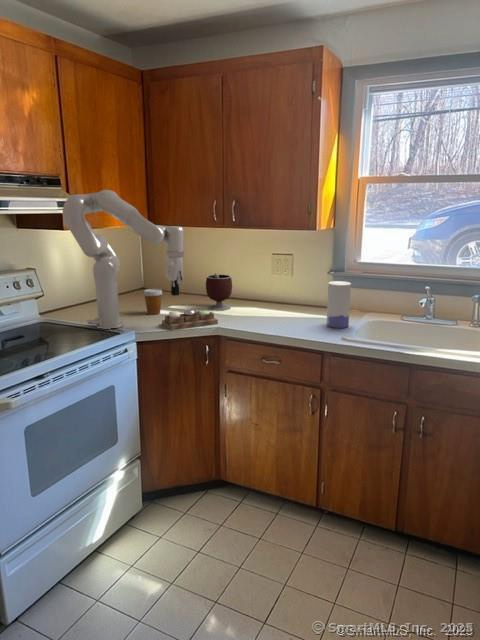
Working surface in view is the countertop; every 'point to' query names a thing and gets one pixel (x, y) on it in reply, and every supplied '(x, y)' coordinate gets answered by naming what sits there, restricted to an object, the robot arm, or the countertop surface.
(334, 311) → the container
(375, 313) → the countertop surface
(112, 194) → the robot arm
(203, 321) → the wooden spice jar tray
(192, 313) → the grey button
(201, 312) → the sage button
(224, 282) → the mate gourd
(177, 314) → the cream button
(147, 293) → the disposable coffee cup
